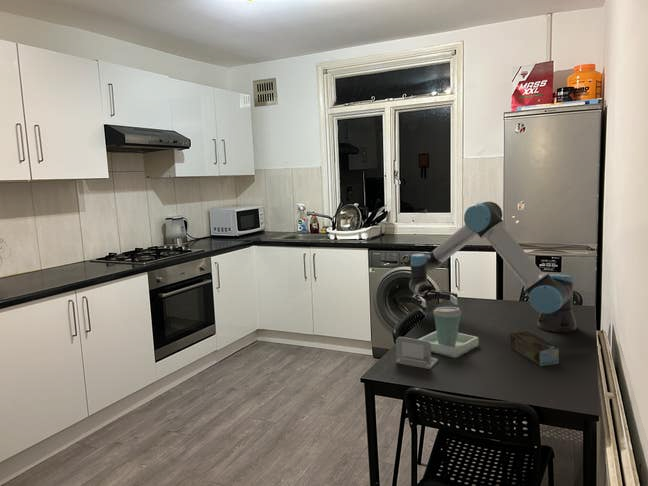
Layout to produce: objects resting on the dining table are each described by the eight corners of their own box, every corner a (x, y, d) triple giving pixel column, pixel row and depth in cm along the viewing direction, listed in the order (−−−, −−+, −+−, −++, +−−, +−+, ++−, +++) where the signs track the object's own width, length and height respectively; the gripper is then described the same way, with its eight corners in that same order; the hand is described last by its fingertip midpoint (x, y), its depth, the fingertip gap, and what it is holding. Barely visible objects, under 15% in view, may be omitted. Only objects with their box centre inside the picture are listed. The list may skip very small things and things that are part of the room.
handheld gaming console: (438, 360, 181) (438, 334, 180) (430, 369, 173) (429, 342, 172) (405, 355, 188) (404, 329, 187) (395, 363, 180) (395, 337, 179)
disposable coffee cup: (427, 345, 195) (427, 308, 193) (444, 338, 202) (444, 302, 200) (450, 351, 187) (450, 313, 185) (466, 344, 194) (467, 307, 192)
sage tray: (478, 345, 194) (478, 337, 194) (455, 358, 182) (455, 349, 182) (440, 336, 206) (440, 328, 206) (417, 348, 194) (417, 339, 194)
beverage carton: (538, 367, 172) (539, 348, 171) (509, 348, 191) (509, 331, 190) (559, 364, 174) (560, 346, 173) (527, 346, 192) (528, 329, 191)
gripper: (451, 297, 229) (469, 309, 208) (399, 301, 227) (411, 313, 206) (451, 281, 228) (469, 291, 207) (398, 285, 226) (411, 296, 205)
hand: (440, 302), depth 206 cm, fingers open, 13 cm apart
